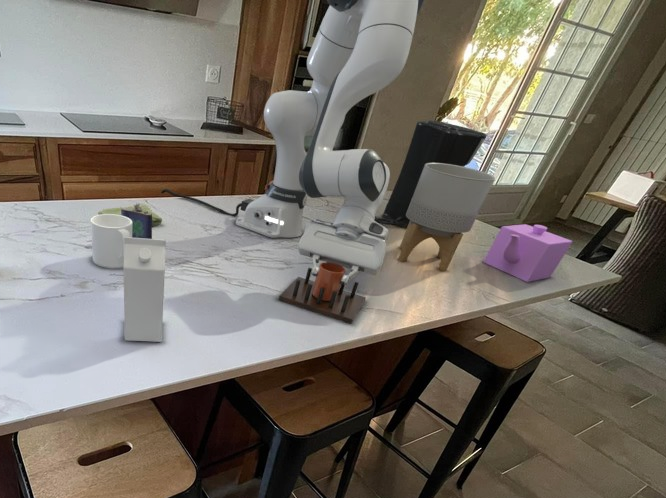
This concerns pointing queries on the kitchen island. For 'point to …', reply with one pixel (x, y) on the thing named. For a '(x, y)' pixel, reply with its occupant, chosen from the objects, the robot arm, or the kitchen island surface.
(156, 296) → the milk carton
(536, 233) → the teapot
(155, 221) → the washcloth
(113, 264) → the mug
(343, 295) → the rack
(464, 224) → the planter
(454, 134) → the coffee maker
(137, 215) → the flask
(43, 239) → the kitchen island surface
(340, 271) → the cup
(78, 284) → the kitchen island surface
